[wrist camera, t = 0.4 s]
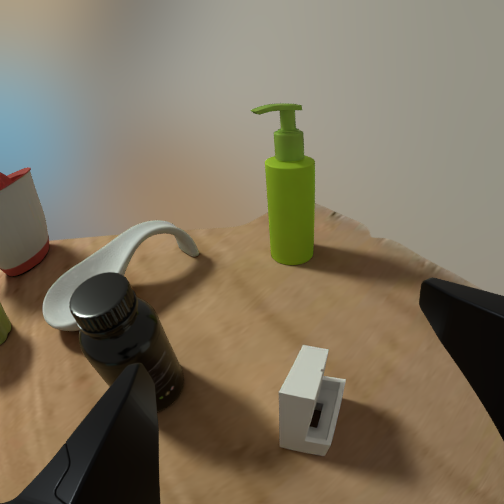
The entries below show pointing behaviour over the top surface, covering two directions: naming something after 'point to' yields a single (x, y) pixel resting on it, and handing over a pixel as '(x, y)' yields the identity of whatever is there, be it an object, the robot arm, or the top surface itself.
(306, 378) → the white wedge bracket
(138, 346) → the supplement bottle
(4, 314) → the plant pot
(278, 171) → the soap dispenser
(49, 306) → the spoon rest
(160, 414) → the top surface
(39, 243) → the citrus juicer
